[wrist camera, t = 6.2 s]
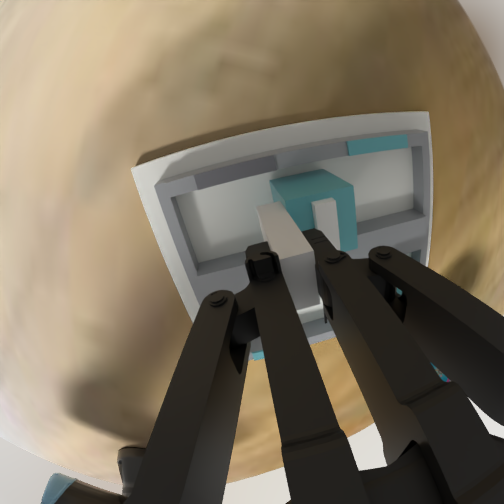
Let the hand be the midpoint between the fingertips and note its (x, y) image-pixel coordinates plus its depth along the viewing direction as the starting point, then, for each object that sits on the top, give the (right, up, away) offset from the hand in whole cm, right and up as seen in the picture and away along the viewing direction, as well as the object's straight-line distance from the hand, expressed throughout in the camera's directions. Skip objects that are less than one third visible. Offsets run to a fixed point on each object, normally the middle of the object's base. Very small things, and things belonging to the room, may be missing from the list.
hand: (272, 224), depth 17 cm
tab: (+2, +2, +3) cm, 4 cm away
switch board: (+4, -1, +6) cm, 7 cm away
